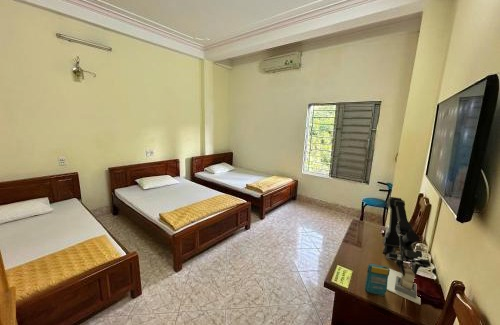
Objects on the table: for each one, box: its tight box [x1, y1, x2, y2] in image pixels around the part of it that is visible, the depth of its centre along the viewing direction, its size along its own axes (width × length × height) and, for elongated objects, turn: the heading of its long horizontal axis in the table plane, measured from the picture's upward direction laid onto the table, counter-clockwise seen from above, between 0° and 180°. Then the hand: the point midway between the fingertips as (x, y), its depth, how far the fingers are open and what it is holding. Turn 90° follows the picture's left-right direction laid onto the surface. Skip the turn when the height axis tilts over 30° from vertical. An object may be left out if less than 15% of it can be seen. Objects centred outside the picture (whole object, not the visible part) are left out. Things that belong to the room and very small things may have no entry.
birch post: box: [400, 267, 416, 291], centre depth 112 cm, size 4×4×10 cm
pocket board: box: [386, 268, 422, 305], centre depth 116 cm, size 20×15×3 cm
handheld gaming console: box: [364, 263, 391, 297], centre depth 109 cm, size 10×4×15 cm, turn 76°
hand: (409, 277), depth 110 cm, fingers open, 4 cm apart
